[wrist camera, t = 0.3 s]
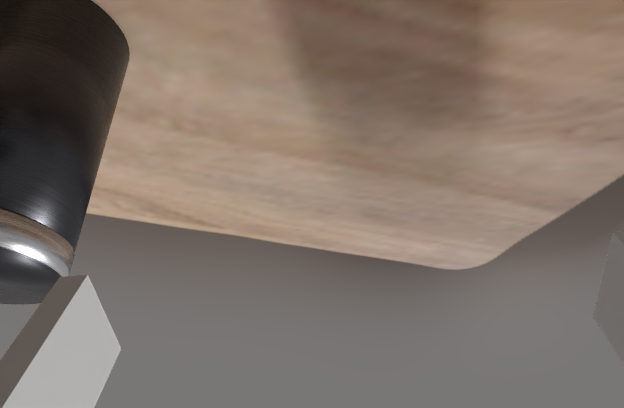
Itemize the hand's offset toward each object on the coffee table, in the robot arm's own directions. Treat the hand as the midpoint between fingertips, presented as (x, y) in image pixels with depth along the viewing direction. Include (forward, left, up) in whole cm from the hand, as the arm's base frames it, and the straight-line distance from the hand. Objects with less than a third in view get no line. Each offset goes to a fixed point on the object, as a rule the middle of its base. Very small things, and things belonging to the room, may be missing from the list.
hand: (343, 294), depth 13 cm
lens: (+3, -13, -14) cm, 19 cm away
